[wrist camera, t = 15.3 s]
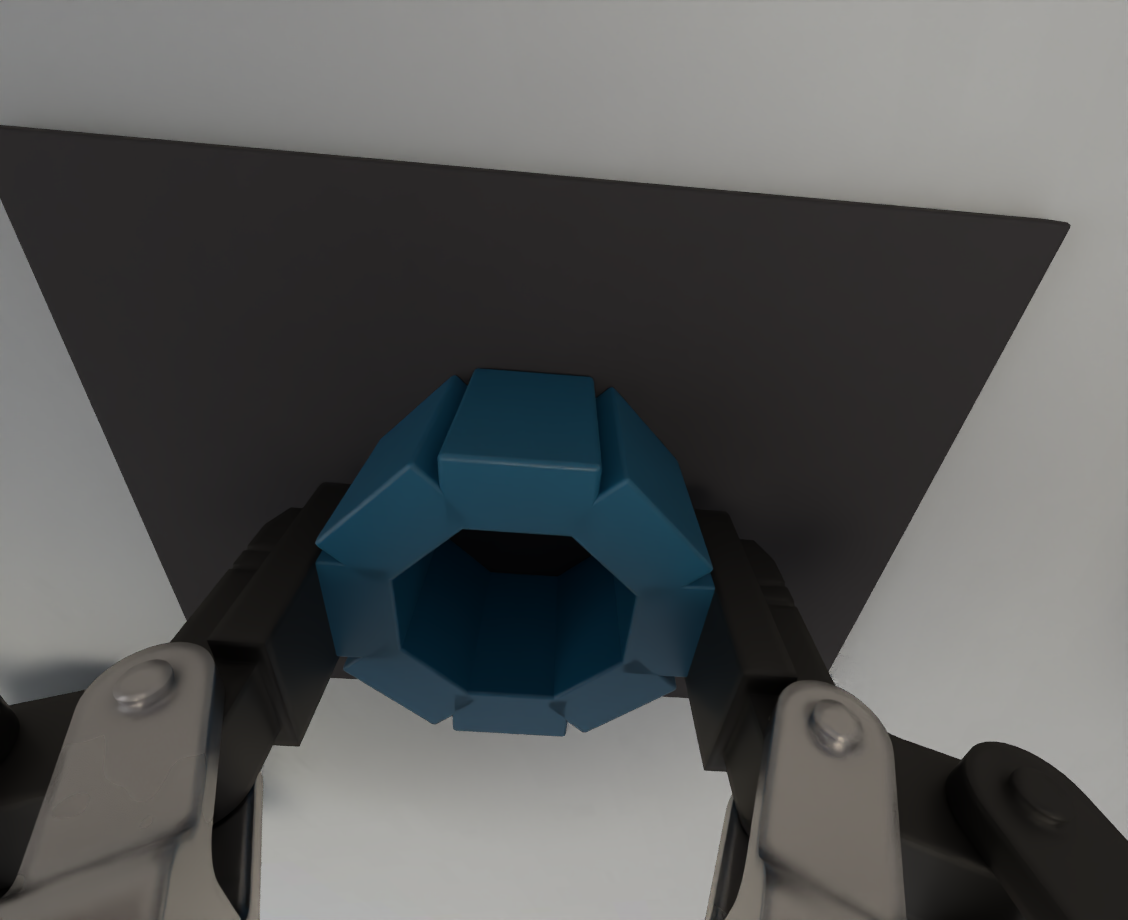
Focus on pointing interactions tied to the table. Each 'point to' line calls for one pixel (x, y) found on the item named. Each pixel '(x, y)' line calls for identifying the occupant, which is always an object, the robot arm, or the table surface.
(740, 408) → the mat
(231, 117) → the table surface
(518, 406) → the ring
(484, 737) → the table surface
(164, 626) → the table surface
